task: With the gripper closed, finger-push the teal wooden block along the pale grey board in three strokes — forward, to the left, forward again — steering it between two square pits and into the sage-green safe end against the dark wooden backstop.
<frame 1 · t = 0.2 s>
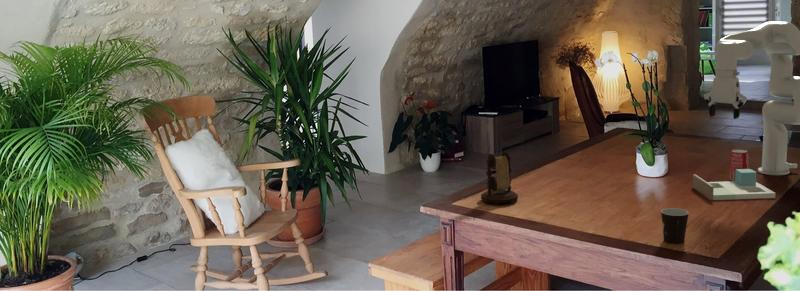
hand: (724, 117, 314), 31 cm above the table, tool pointing down, fingers open, 9 cm apart
block: (745, 183, 324), point 2 cm above the table, touching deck
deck: (732, 192, 319), on the table
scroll: (499, 201, 320), on the table
coffee mug: (672, 242, 263), on the table
soda can: (738, 181, 337), on the table
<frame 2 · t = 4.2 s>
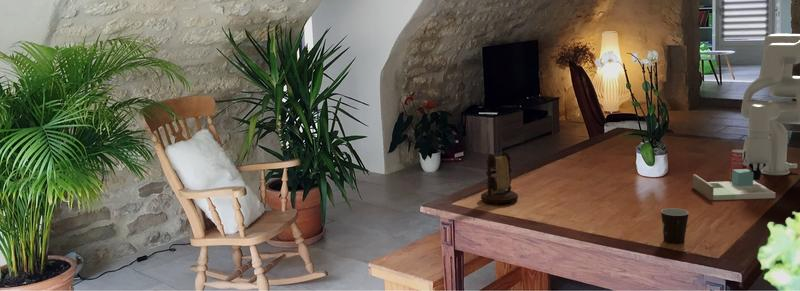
hand: (755, 179, 323), 4 cm above the table, tool pointing down, fingers closed
block: (742, 184, 324), point 2 cm above the table, touching gripper
everything else where it was.
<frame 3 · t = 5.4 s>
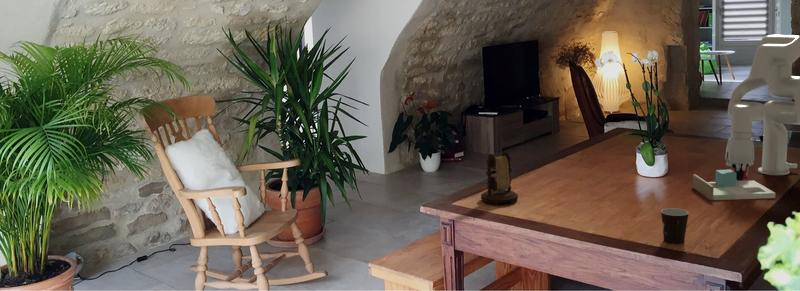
hand: (739, 179, 323), 4 cm above the table, tool pointing down, fingers closed
block: (725, 184, 324), point 2 cm above the table, touching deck, gripper
everything else where it was.
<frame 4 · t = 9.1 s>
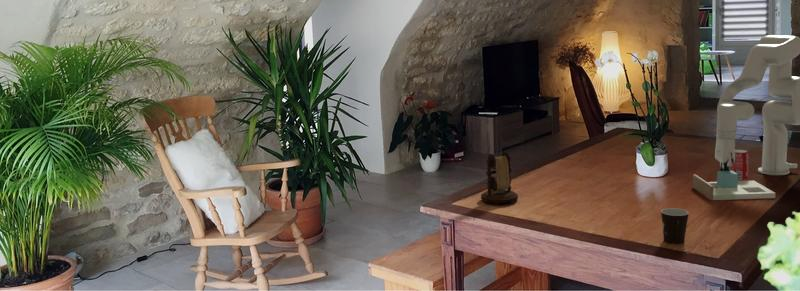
hand: (724, 178, 327), 4 cm above the table, tool pointing down, fingers closed
block: (727, 185, 322), point 2 cm above the table, touching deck, gripper
everything else where it was.
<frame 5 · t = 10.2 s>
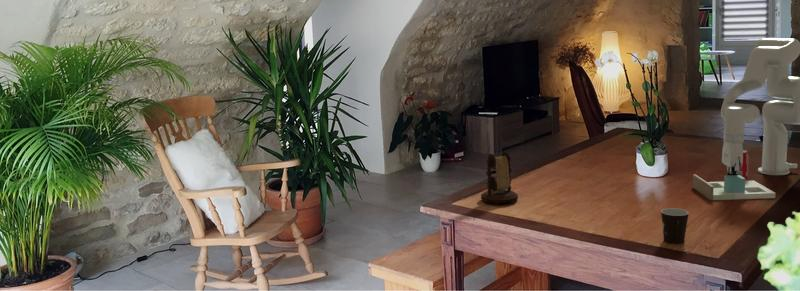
hand: (731, 182, 319), 4 cm above the table, tool pointing down, fingers closed
block: (734, 190, 315), point 2 cm above the table, touching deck, gripper
everything else where it was.
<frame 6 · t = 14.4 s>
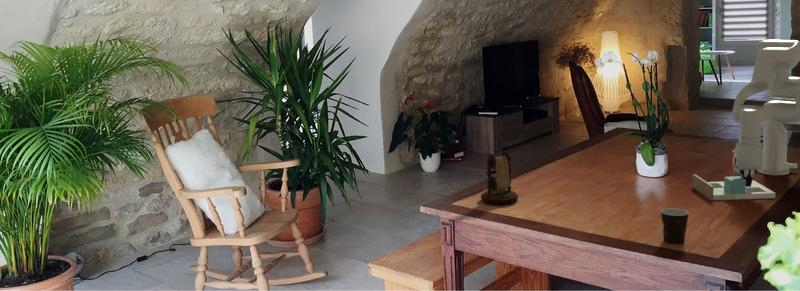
hand: (747, 185, 313), 4 cm above the table, tool pointing down, fingers closed
block: (734, 191, 313), point 2 cm above the table, touching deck, gripper
everything else where it was.
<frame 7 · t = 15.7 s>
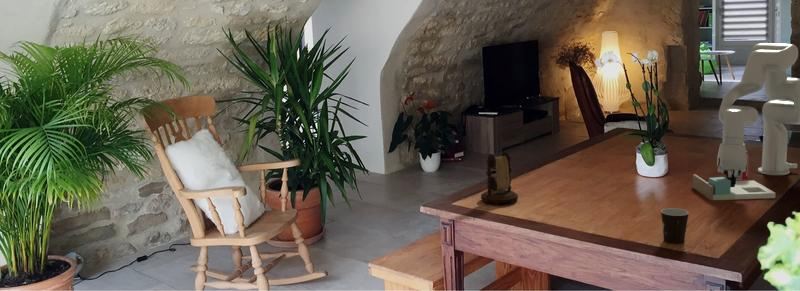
hand: (731, 186, 313), 4 cm above the table, tool pointing down, fingers closed
block: (719, 192, 312), point 2 cm above the table, touching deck, gripper
everything else where it was.
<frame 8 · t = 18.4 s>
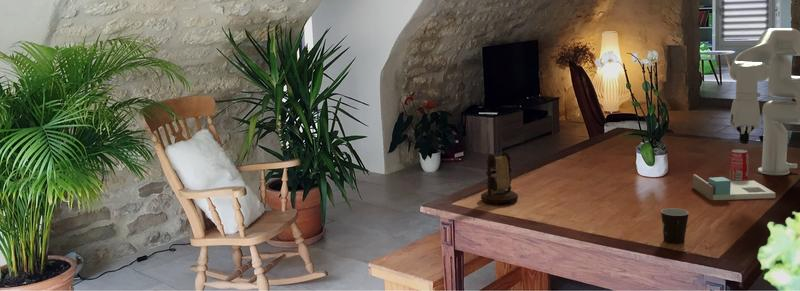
hand: (744, 143, 310), 21 cm above the table, tool pointing down, fingers closed
block: (719, 192, 312), point 2 cm above the table, touching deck
everything else where it was.
at the end: block inside the target area (2.2 cm from its centre), point 2.0 cm above the table; block tilted 0°; block moved 19.2 cm from its start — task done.
